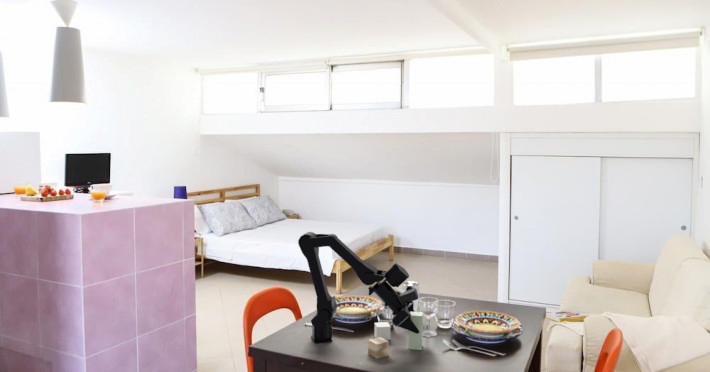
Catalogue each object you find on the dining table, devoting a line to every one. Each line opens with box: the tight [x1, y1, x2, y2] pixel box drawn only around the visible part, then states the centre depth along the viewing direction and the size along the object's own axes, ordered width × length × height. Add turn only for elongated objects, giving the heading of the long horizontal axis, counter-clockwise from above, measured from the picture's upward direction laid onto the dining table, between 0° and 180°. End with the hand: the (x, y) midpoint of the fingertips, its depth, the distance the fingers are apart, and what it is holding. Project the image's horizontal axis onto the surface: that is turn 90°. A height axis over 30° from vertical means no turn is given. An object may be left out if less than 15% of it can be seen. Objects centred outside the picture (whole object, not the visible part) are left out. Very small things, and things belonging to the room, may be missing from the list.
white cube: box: [373, 321, 391, 341], centre depth 204 cm, size 5×5×5 cm
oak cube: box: [367, 337, 390, 360], centre depth 187 cm, size 5×5×5 cm
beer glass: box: [401, 281, 420, 312], centre depth 224 cm, size 7×7×15 cm
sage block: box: [408, 311, 424, 351], centre depth 195 cm, size 4×4×12 cm
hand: (419, 328), depth 194 cm, fingers open, 9 cm apart
